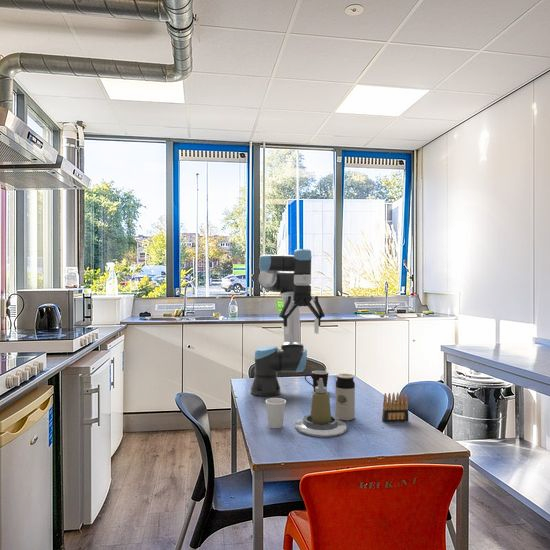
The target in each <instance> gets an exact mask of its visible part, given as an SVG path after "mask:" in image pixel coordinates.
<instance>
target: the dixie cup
mask: <svg viewBox="0 0 550 550" xmlns="http://www.w3.org/2000/svg"><path fill="white" fill-rule="evenodd" d="M286 403H287V400H286V399H284V398H282V397H281V398H280V397H270V398H266V400H265V408H266V415H267V423H268V424H267V425H268V427H269V428H270V427H271V428H270V429H281V428H283V426H284V419H285V411H286Z"/></svg>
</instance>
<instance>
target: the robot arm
mask: <svg viewBox="0 0 550 550" xmlns="http://www.w3.org/2000/svg"><path fill="white" fill-rule="evenodd" d="M312 258H313V257H312V251H311V249H308V248H307V249H306V248H297V249H295V250H294V251H293V254H261V255H260V256H259V260H258V261H259V262H258V263H259V264H258V265H259V266H258V267H259V268H258V269H259V271H260V273H259V274H258V280H257V281H258V284H259V285H260V286H261V287H262V288H263V289H265V290H266V291H268V292H271V293H272V292H273V293H280V296H279V297H281V298H282V299H283V300H282V303H283V307H282V308H281V311H280V313H279V318H282V320H283V323H282V326H283V343H282V344H281V347H280V349H279V348H278V346H276V345H273V346H272V345H268V346H267V345H266V346H261V347H258V348H257V349H255V351H254V378H253V380H252V381H253V382H252V385H251V387H250V393H251V394H252V395H254V396H257V395H259V396H258V397H274V396H278V395H280V394H281V385H280V383H279V380H278V373H300V372H301V373H302V372H304V370H305V369H306V365H307V357H308V350H307V349H306V348H304V344H303V343H302V342H301V317H300V316H301V315H300V307H308V309H309V310H310V311H311V312H312V314H313V315H314V317H315V318H314V334H316V335H318V334H319V328H320V327H319V326H321V319H322V318H325V313H324V311H323V308H322V307H321V305H320V301H319V297H318V295H313V296H312V286H311V284H312ZM311 301H313V303H314V305H315V307H314V305H313V304H312V303H311Z"/></svg>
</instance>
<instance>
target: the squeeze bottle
mask: <svg viewBox="0 0 550 550" xmlns="http://www.w3.org/2000/svg"><path fill="white" fill-rule="evenodd" d="M327 389H328V388H326V387H324V384H323V379H322V378H319V383H318V386H317V387H315V392H314V391H313V393H312V398H311V407H310V414H311V418H312V422H313V423H318V424H328V423H329V420H330V417H331V416H332V413H331V404H330V403H331V402H330V401H331V400H330V394H329V392H327V391H328V390H327Z"/></svg>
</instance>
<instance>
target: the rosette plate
mask: <svg viewBox="0 0 550 550" xmlns="http://www.w3.org/2000/svg"><path fill="white" fill-rule="evenodd" d="M294 423H295V424H294V425H295V430H296V431H297V432H298V433H300V434H302V435H305V436H308V437H316V438H332V436H335V437H339V436H341V434H342V435H344V434H345V433H346V432H347V424H346V423H345V422H344V420H340V419H337V418H336V415H335V416H334V415H331V417H330V420H329V423H328V424H318V423H313V422H312V418H311V413H310V414H308V415H305V416H304V417H302V418H298V419H297V420H296V421H295V422H294ZM343 433H344V434H343ZM338 435H339V436H338Z"/></svg>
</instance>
